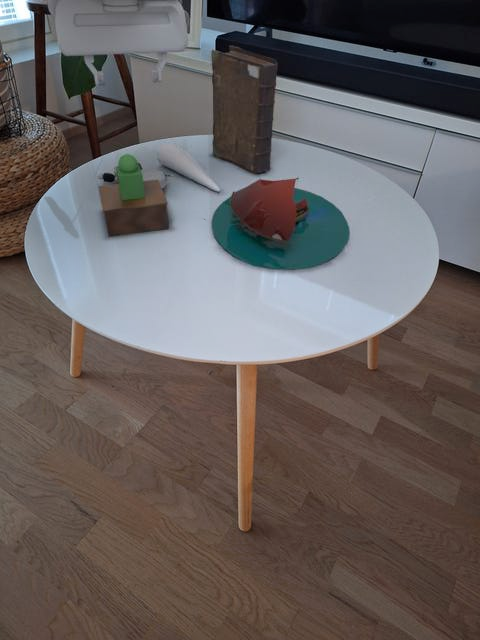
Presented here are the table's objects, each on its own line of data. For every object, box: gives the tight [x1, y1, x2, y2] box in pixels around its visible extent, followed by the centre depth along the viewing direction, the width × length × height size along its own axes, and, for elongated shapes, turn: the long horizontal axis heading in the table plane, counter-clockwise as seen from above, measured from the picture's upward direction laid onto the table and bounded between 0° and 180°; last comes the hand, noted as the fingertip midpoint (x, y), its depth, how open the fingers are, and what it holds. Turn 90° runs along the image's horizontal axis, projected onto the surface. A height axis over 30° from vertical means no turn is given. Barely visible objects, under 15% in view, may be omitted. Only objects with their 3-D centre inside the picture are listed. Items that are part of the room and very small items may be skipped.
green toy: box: [115, 153, 145, 200], centre depth 90 cm, size 4×4×8 cm
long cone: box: [156, 142, 221, 193], centre depth 110 cm, size 6×6×19 cm
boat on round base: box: [211, 177, 351, 271], centre depth 92 cm, size 28×28×11 cm
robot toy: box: [97, 162, 174, 190], centre depth 105 cm, size 12×4×15 cm
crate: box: [97, 180, 169, 237], centre depth 94 cm, size 12×10×6 cm
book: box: [210, 45, 279, 174], centre depth 111 cm, size 17×7×25 cm, turn 39°
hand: (129, 83), depth 78 cm, fingers open, 8 cm apart
